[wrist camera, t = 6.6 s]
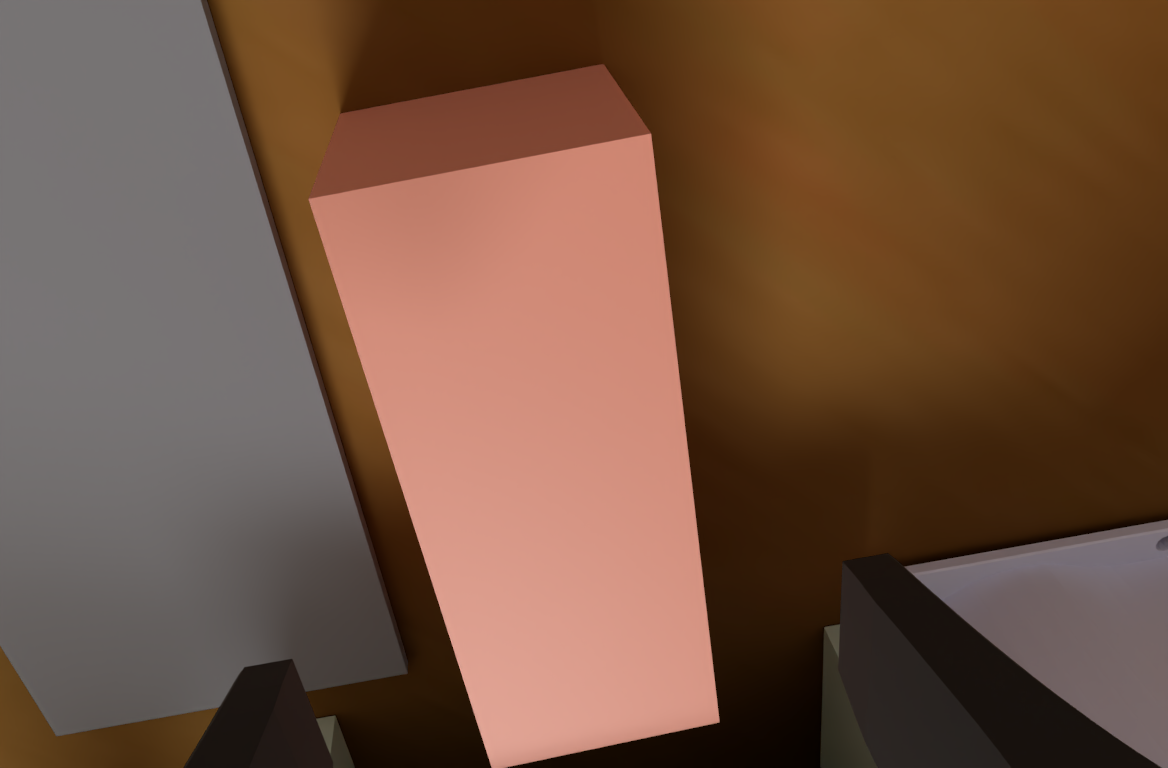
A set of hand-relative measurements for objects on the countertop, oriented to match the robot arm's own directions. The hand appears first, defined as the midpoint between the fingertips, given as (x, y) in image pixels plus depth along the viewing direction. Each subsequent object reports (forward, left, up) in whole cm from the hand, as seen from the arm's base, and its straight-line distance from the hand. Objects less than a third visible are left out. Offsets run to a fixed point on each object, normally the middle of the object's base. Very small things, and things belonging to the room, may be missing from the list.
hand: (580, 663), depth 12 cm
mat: (+9, 0, -9) cm, 13 cm away
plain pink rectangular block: (0, +1, -10) cm, 10 cm away
